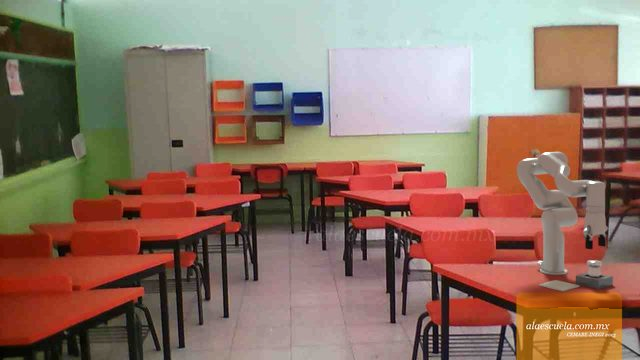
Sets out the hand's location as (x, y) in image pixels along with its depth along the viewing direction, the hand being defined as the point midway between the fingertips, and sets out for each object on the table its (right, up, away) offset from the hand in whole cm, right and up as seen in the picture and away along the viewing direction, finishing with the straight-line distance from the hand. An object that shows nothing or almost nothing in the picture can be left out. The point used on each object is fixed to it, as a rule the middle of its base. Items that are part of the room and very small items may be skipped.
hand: (595, 247), depth 266 cm
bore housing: (0, -17, +2) cm, 17 cm away
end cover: (0, -17, +2) cm, 17 cm away
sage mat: (-16, -17, +1) cm, 24 cm away
